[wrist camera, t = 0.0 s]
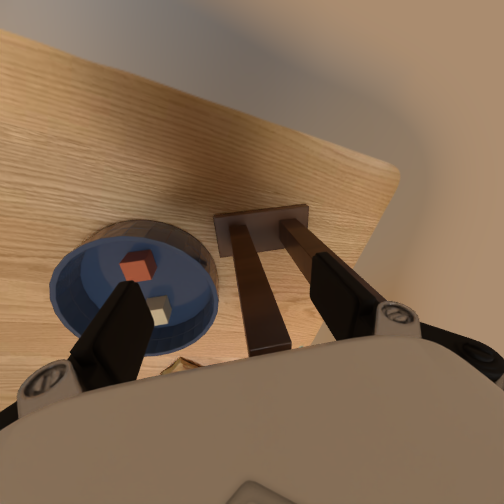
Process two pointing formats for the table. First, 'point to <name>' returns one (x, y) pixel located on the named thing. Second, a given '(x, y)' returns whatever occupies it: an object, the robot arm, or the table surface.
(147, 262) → the terracotta block
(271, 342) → the stick stand
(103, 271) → the bowl
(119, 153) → the table surface
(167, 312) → the cream block
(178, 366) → the shard
